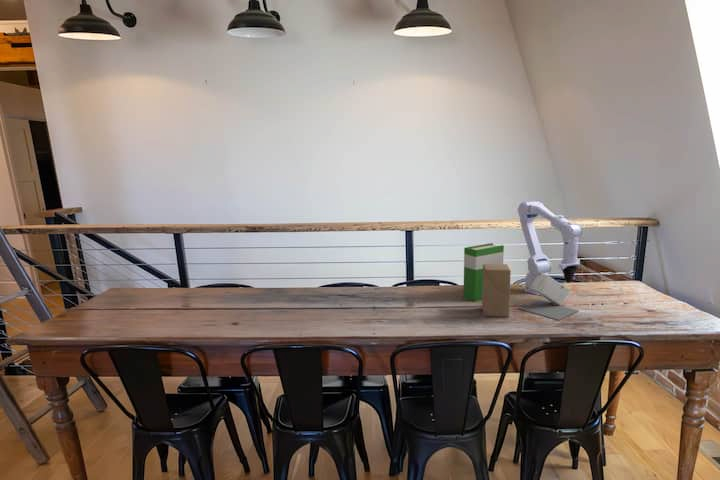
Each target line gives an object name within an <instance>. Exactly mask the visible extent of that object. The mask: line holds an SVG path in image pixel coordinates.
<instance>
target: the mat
mask: <svg viewBox="0 0 720 480" xmlns="http://www.w3.org/2000/svg"><path fill="white" fill-rule="evenodd" d="M518 310H521V311H525V312H527V313H531V314H535V315H538V316H541V317H545V318H548V319H552V320H556V321H558V322H559V321H561V320H563V319H565V318H568V317H570V316H572V315H574V314H577V313H579V311H580V310H578V309H575V308H570V307H567V306H563V305H562V306H560V305H558V304H555V303H552V302H548V301H544V300H540V299H538V300H536V301H534V302H533V301H532V302H531V303H529V304H526V305H524V306H521V307H518Z"/></svg>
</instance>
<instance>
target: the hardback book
mask: <svg viewBox="0 0 720 480" xmlns="http://www.w3.org/2000/svg"><path fill="white" fill-rule="evenodd" d="M504 246H505V245H501V244H500V245H494V243H493V242H491V243H485V244H477V245H472V246H466V247H463V251H464V253H463V255H464V257H463V299H466V300H469V301H471V302H474V303H476V302H478V301H479V302H480V301H482V287H483V264H504V254H505V253H504V249H505V247H504Z"/></svg>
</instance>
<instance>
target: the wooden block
mask: <svg viewBox="0 0 720 480" xmlns="http://www.w3.org/2000/svg"><path fill="white" fill-rule="evenodd" d="M511 272H512V271H511V269H510V267H509V265H508V264H506V263H503V264H483V287H482V300H481V309H482V313H483V316H484V317H501V318H502V317H504V318H505V317H506V318H508V317H509V316H510V301H511V300H510V299H511V298H510V295H511V276H512V275H511Z"/></svg>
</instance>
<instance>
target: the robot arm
mask: <svg viewBox="0 0 720 480" xmlns="http://www.w3.org/2000/svg"><path fill="white" fill-rule="evenodd" d="M517 213H518V217H519V222H520V226H521V230H522V233H523V236H524V239H525V240H524V241H525V243H526V246H527V250H528V252H529V258H528V259H527V270H528V273H526V276H525V280H524V281H525V282H524V289H523V292H526V293H530V294H534V295H537V296H541V295H540V294H538V293H537V292H535V291H534V290H532V289H530V288H531V286H532V284H533V282H534V280H535V279H536V277H537V275H538V274H539V273H542V274H545V275H548V276H549V274H550V272H551V271H552V268H553V266H552V262H551V261H550V260H549V257H548V256H547V255H546V254H544V253H543V251H542V248H541V245H540V241H539V238H538V235H537V232H536V229H535V225H534V221H535V219H537V217H538V216H540V217H542V218H544V219H545V220H547V221H549V222H550V225H551V226H552V227H553V228H554V229H555V230H557V231H558V232H560V233H561V237H562V241H563V245H562V247H563V249H562V261H561V262H560V263H559V264H558V269H560V270H561V271H562V273H563V277H564V282H565V283H569V284H570V283H571V284H572V282H573V279H574V276H575V273H576V271H578V269H579V265H580V264H581V259H579V258H578V251H579V237H581V236H582V234H583V228H582V227H581V225H580V224H578V223H572V221H569V220H567V219H566V218H565V216H564V215H560V214H558V215H555V213H553V212H552V211H550V210H549V209H548V208H547V207H545V206H544V203H542V202H541V201H538V200H535V201H527V202H526V201H522V202H520V204H519V205H518V208H517Z"/></svg>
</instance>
